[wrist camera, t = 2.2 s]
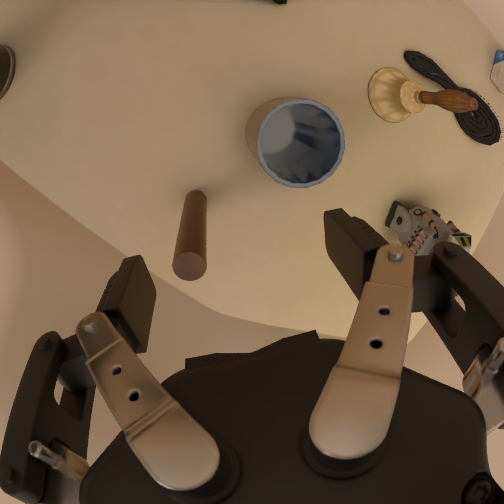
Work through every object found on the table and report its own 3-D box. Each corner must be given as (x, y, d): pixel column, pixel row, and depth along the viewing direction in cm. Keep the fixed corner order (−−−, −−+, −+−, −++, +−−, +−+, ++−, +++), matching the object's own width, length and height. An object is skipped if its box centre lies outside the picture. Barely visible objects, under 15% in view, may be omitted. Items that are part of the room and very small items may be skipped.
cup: (250, 172, 36) (262, 194, 28) (240, 103, 31) (250, 102, 23) (316, 163, 36) (345, 182, 29) (311, 96, 32) (341, 97, 24)
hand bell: (357, 88, 31) (438, 93, 18) (392, 57, 29) (475, 54, 15) (390, 133, 35) (470, 161, 21) (421, 101, 33) (502, 118, 19)
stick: (187, 212, 37) (177, 283, 23) (183, 192, 36) (168, 255, 22) (208, 208, 37) (209, 278, 24) (204, 188, 36) (202, 249, 22)
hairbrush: (421, 31, 25) (508, 121, 31) (407, 34, 28) (495, 117, 34) (406, 74, 28) (496, 157, 34) (393, 75, 31) (483, 152, 37)
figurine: (370, 254, 45) (419, 311, 32) (396, 191, 40) (460, 234, 27) (406, 261, 47) (454, 312, 34) (431, 204, 42) (491, 246, 29)
